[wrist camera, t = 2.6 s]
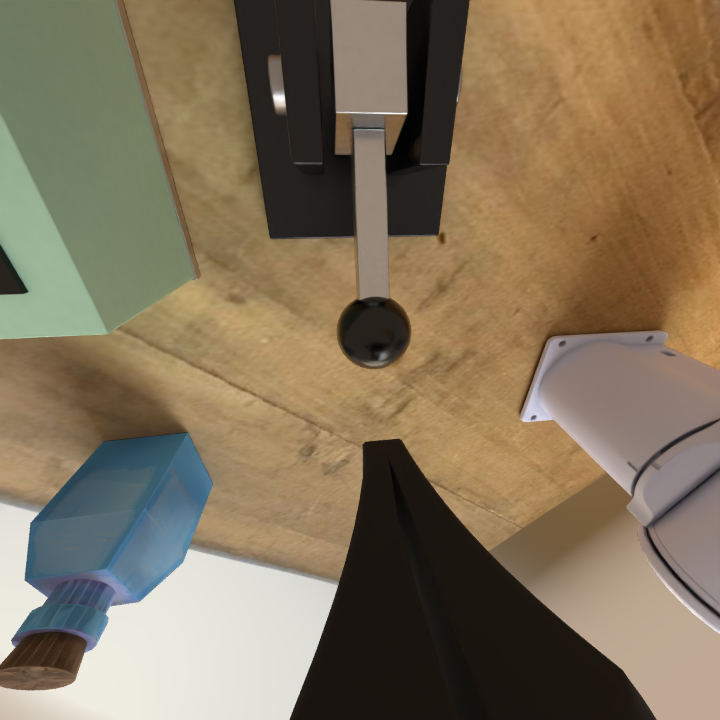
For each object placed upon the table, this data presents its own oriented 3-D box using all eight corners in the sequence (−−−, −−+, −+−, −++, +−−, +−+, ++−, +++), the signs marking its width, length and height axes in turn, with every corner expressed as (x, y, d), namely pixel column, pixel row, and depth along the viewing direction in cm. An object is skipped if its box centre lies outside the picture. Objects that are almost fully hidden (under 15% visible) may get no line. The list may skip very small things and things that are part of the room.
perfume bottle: (188, 432, 22) (68, 643, 12) (212, 484, 25) (135, 686, 15) (103, 441, 22) (-100, 668, 11) (139, 493, 25) (6, 707, 14)
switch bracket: (431, 233, 17) (489, 254, 11) (273, 236, 16) (243, 261, 10) (461, -35, 12) (600, -267, 6) (231, -51, 11) (122, -338, 5)
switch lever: (401, 360, 13) (421, 374, 10) (337, 363, 12) (339, 379, 10) (397, 74, 11) (420, -6, 8) (321, 72, 10) (317, -13, 8)
